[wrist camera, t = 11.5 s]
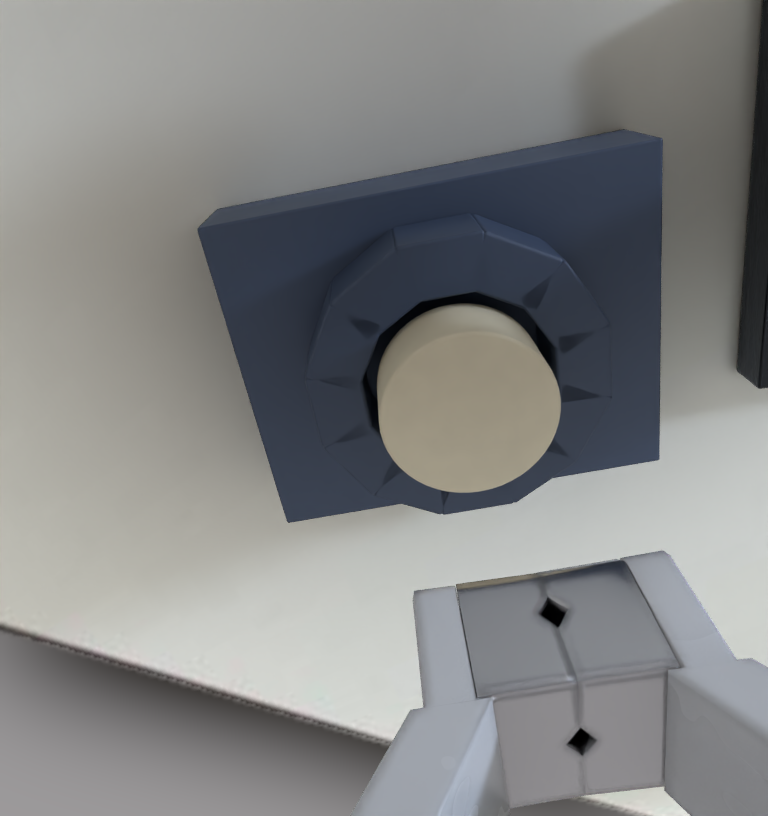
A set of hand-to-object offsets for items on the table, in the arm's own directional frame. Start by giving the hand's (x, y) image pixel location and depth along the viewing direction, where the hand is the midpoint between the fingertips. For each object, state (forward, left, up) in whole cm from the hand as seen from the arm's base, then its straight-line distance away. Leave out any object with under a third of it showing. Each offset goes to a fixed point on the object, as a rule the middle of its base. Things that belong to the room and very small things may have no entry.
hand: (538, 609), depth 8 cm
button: (0, 0, -7) cm, 7 cm away
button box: (0, 0, -11) cm, 11 cm away
